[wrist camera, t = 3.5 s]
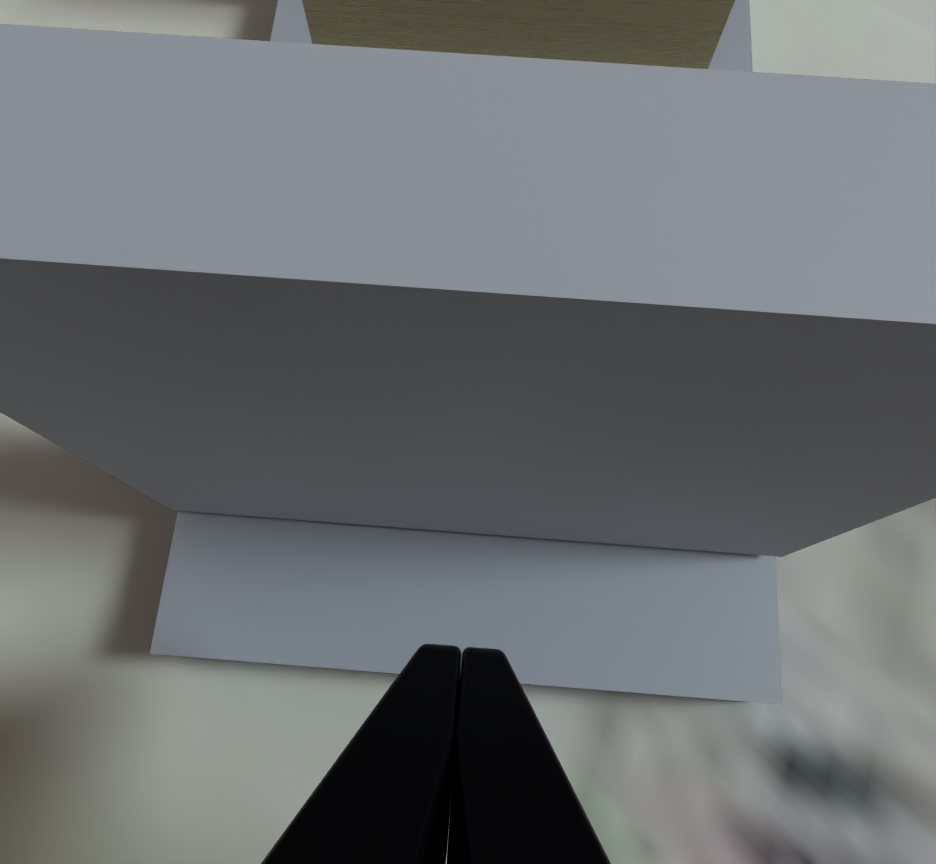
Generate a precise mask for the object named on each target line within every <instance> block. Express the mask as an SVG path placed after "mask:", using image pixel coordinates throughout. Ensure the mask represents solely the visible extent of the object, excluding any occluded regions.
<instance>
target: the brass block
mask: <svg viewBox="0 0 936 864" xmlns="http://www.w3.org/2000/svg"><path fill="white" fill-rule="evenodd" d="M734 2H735V0H302V3H303V7H304V11H305V15H306V20H307V24H308V28H309V32H310V36H311V40H312V44H322V45H337V46H353V47H368V48H384V49H400V50H415V51H431V52H447V53H462V54H478V55H494V56H509V57H525V58H540V59H556V60H572V61H587V62H603V63H619V64H634V65H650V66H665V67H681V68H697V69H708V67H709V65H710V62H711V60H712V57H713V55H714V52H715V50H716V47H717V45H718V42H719V40H720V37H721V34H722V32H723V29H724V27H725V24H726V22H727V19H728V17H729V14H730V12H731V9H732V7H733V4H734Z"/></svg>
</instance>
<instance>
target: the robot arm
mask: <svg viewBox="0 0 936 864" xmlns="http://www.w3.org/2000/svg"><path fill="white" fill-rule="evenodd" d="M461 655H462V660H461ZM460 670H461V672H460ZM450 805H451V806H450ZM449 817H450V821H449ZM448 830H449V836H448ZM447 843H448V850H447ZM446 855H447V864H611V863H610V861H609V859H608V857H607V855H606V853H605V851H604V849H603V847H602V845H601V843H600V841H599V839H598V837H597V835H596V833H595V831H594V829H593V827H592V825H591V823H590V821H589V819H588V817H587V815H586V813H585V811H584V809H583V807H582V805H581V803H580V802H579V800H578V798H577V796H576V794H575V792H574V790H573V788H572V786H571V784H570V782H569V780H568V778H567V776H566V774H565V772H564V770H563V768H562V766H561V764H560V762H559V760H558V758H557V756H556V754H555V752H554V750H553V748H552V746H551V744H550V742H549V740H548V738H547V736H546V734H545V732H544V730H543V728H542V726H541V724H540V722H539V720H538V718H537V716H536V714H535V712H534V710H533V708H532V706H531V704H530V702H529V700H528V698H527V696H526V694H525V692H524V690H523V688H522V686H521V684H520V682H519V680H518V678H517V677H516V675H515V673H514V671H513V669H512V667H511V665H510V663H509V661H508V659H507V657H506V655H505V654H504V652H502V651H501V650H499V649H490V648H478V647H467V648H465V649H464V650H463V652H462V654H461V650H460V648H459V647H457V646H452V645H439V644H424V645H421V646H420V647H419V648H418V649H417V651H416V652H415V653H414V655H413V656H412V657H411V659H410V660H409V662H408V663H407V664H406V666H405V667H404V668H403V670H402V671H401V673H400V674H399V675H398V677H397V678H396V679H395V681H394V682H393V683H392V685H391V686H390V688H389V689H388V690H387V692H386V693H385V694H384V696H383V697H382V699H381V700H380V701H379V703H378V704H377V705H376V707H375V708H374V710H373V711H372V712H371V714H370V715H369V716H368V718H367V719H366V720H365V722H364V723H363V725H362V726H361V727H360V729H359V730H358V731H357V733H356V734H355V736H354V737H353V738H352V740H351V741H350V742H349V744H348V745H347V746H346V748H345V749H344V751H343V752H342V753H341V755H340V756H339V757H338V759H337V760H336V762H335V763H334V764H333V766H332V767H331V768H330V770H329V771H328V772H327V774H326V775H325V777H324V778H323V779H322V781H321V782H320V783H319V785H318V786H317V788H316V789H315V790H314V792H313V793H312V794H311V796H310V797H309V799H308V800H307V801H306V803H305V804H304V805H303V807H302V808H301V809H300V811H299V812H298V814H297V815H296V816H295V818H294V819H293V820H292V822H291V823H290V825H289V826H288V827H287V829H286V830H285V831H284V833H283V834H282V835H281V837H280V838H279V840H278V841H277V842H276V844H275V845H274V846H273V848H272V849H271V851H270V852H269V853H268V855H267V856H266V857H265V859H264V860H263V861H262V863H261V864H446Z"/></svg>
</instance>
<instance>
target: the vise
mask: <svg viewBox="0 0 936 864" xmlns="http://www.w3.org/2000/svg"><path fill="white" fill-rule="evenodd" d="M270 41H275V42H290V43H306V44H312V40H311V36H310V32H309V28H308V24H307V20H306V15H305V11H304V7H303V3H302V0H278V2H277V7H276V12H275V18H274V23H273V28H272V33H271V38H270ZM708 69H712V70H728V71H744V72H752V50H751V29H750V7H749V0H735V2H734V4H733V7H732V9H731V12H730V14H729V17H728V19H727V22H726V24H725V27H724V29H723V32H722V34H721V37H720V40H719V42H718V45H717V47H716V50H715V52H714V55H713V57H712V60H711V62H710V65H709V67H708ZM424 644H439V645H452V646H457V647H459V648H460V650H461V654H462V652H463V650H464V649H465V648H467V647H478V648H490V649H499V650H501V651H502V652H504V654H505V655H506V657H507V659H508V661H509V663H510V665H511V667H512V669H513V671H514V673H515V675H516V677H517V678H518V680H519V682H520V684H532V685H545V686H557V687H570V688H582V689H595V690H607V691H619V692H632V693H644V694H657V695H669V696H682V697H694V698H707V699H719V700H731V701H744V702H756V703H769V704H781V705H782V691H781V670H780V648H779V627H778V605H777V584H776V563H775V556H766V555H753V554H740V553H727V552H714V551H701V550H688V549H675V548H661V547H648V546H635V545H622V544H609V543H596V542H583V541H570V540H557V539H544V538H531V537H518V536H505V535H492V534H478V533H465V532H452V531H439V530H426V529H413V528H400V527H387V526H374V525H361V524H348V523H335V522H322V521H309V520H295V519H282V518H269V517H256V516H243V515H230V514H217V513H204V512H191V511H178V512H177V517H176V522H175V527H174V532H173V537H172V542H171V547H170V553H169V558H168V563H167V568H166V573H165V578H164V583H163V588H162V593H161V598H160V603H159V609H158V614H157V619H156V624H155V629H154V634H153V639H152V644H151V649H150V654H159V655H171V656H184V657H196V658H209V659H221V660H234V661H246V662H258V663H271V664H283V665H296V666H308V667H321V668H333V669H346V670H358V671H371V672H383V673H395V674H400V673H401V671H402V670H403V668H404V667H405V666H406V664H407V663H408V662H409V660H410V659H411V657H412V656H413V655H414V653H415V652H416V651H417V649H418V648H419V647H420V646H421V645H424ZM461 660H462V655H461ZM460 672H461V670H460Z"/></svg>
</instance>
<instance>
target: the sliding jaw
mask: <svg viewBox="0 0 936 864" xmlns="http://www.w3.org/2000/svg"><path fill="white" fill-rule="evenodd" d="M0 412H1V413H3V414H5V415H6V416H8V417H10V418H11V419H13V420H15V421H17V422H18V423H20V424H22V425H24V426H25V427H27V428H29V429H31V430H32V431H34V432H36V433H38V434H39V435H41V436H43V437H45V438H46V439H48V440H50V441H52V442H53V443H55V444H57V445H59V446H60V447H62V448H64V449H66V450H67V451H69V452H71V453H73V454H74V455H76V456H78V457H80V458H81V459H83V460H85V461H87V462H88V463H90V464H92V465H94V466H95V467H97V468H99V469H101V470H102V471H104V472H106V473H108V474H109V475H111V476H113V477H115V478H116V479H118V480H120V481H121V482H123V483H125V484H127V485H128V486H130V487H132V488H134V489H135V490H137V491H139V492H141V493H142V494H144V495H146V496H148V497H149V498H151V499H153V500H155V501H156V502H158V503H160V504H162V505H163V506H165V507H167V508H169V509H170V510H178V511H191V512H204V513H217V514H230V515H243V516H256V517H269V518H282V519H295V520H309V521H322V522H335V523H348V524H361V525H374V526H387V527H400V528H413V529H426V530H439V531H452V532H465V533H478V534H492V535H505V536H518V537H531V538H544V539H557V540H570V541H583V542H596V543H609V544H622V545H635V546H648V547H661V548H675V549H688V550H701V551H714V552H727V553H740V554H753V555H766V556H779V557H782V556H785V555H788V554H790V553H793V552H795V551H798V550H801V549H803V548H806V547H808V546H811V545H814V544H816V543H819V542H821V541H824V540H827V539H829V538H832V537H834V536H837V535H840V534H842V533H845V532H847V531H850V530H853V529H855V528H858V527H861V526H863V525H866V524H868V523H871V522H874V521H876V520H879V519H881V518H884V517H887V516H889V515H892V514H894V513H897V512H900V511H902V510H905V509H907V508H910V507H913V506H915V505H918V504H920V503H923V502H926V501H928V500H931V499H933V498H936V84H931V83H916V82H900V81H884V80H869V79H853V78H837V77H822V76H806V75H791V74H775V73H759V72H744V71H728V70H712V69H697V68H681V67H665V66H650V65H634V64H619V63H603V62H587V61H572V60H556V59H540V58H525V57H509V56H494V55H478V54H462V53H447V52H431V51H415V50H400V49H384V48H368V47H353V46H337V45H322V44H306V43H290V42H275V41H259V40H243V39H228V38H212V37H196V36H181V35H165V34H150V33H134V32H118V31H103V30H87V29H71V28H56V27H40V26H25V25H9V24H0Z"/></svg>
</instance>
